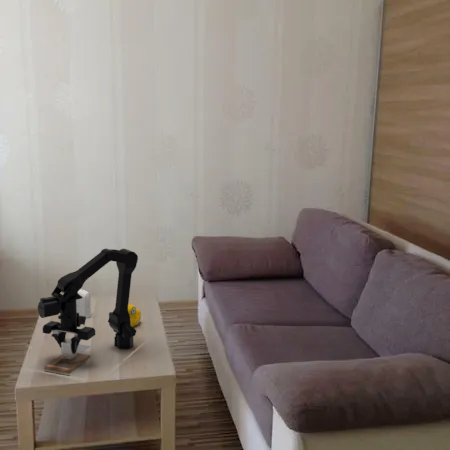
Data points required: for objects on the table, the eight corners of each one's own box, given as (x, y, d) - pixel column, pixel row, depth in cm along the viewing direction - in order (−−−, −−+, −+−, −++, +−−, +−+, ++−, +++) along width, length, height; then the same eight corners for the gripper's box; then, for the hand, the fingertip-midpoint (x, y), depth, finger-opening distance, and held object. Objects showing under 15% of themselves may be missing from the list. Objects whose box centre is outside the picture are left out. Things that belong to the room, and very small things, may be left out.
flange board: (90, 360, 214) (89, 354, 213) (69, 376, 201) (69, 370, 200) (66, 355, 217) (66, 350, 216) (44, 371, 204) (44, 365, 203)
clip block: (77, 355, 210) (76, 339, 209) (71, 359, 207) (70, 343, 206) (67, 353, 212) (67, 338, 210) (61, 357, 208) (61, 342, 207)
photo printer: (92, 316, 258) (91, 290, 255) (85, 319, 254) (85, 292, 252) (75, 311, 263) (74, 285, 260) (68, 314, 259) (67, 288, 256)
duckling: (128, 331, 241) (127, 309, 239) (117, 329, 244) (117, 306, 242) (144, 323, 251) (144, 301, 249) (134, 321, 254) (134, 299, 252)
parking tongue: (90, 348, 224) (90, 346, 223) (79, 356, 216) (79, 354, 216) (77, 346, 225) (77, 344, 225) (65, 354, 218) (65, 351, 218)
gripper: (102, 308, 211) (103, 348, 214) (58, 301, 216) (59, 340, 219) (86, 318, 200) (87, 360, 203) (41, 311, 206) (42, 351, 209)
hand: (69, 352), depth 209 cm, fingers closed on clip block, 4 cm apart
